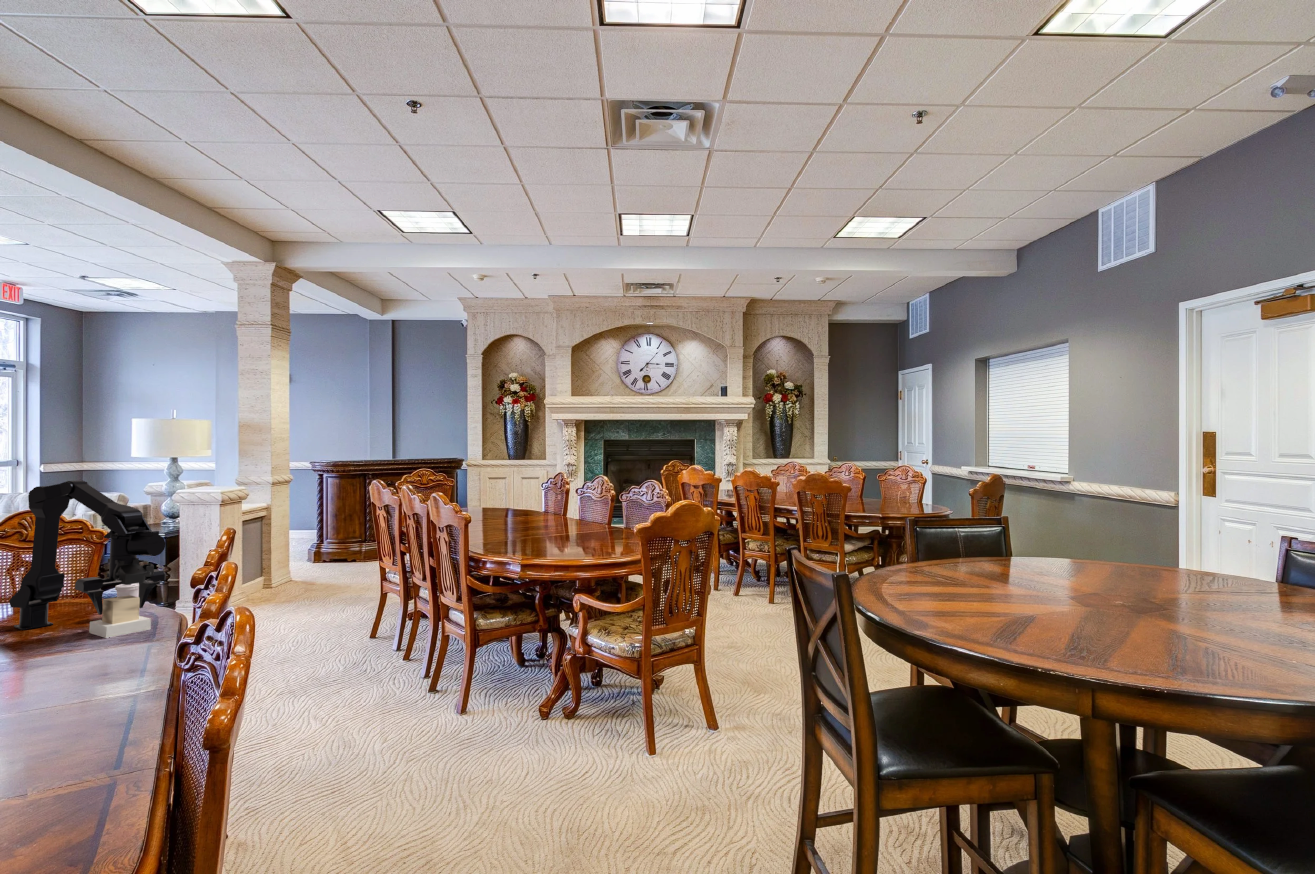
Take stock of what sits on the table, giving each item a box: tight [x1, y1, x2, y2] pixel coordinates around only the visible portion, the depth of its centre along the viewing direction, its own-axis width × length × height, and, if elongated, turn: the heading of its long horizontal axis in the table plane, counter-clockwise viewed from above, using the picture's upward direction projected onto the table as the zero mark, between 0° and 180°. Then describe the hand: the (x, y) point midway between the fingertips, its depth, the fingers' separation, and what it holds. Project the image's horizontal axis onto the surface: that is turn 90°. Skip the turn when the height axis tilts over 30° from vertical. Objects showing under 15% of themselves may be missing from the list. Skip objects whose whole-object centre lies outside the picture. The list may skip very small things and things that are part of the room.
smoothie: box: [114, 583, 139, 597], centre depth 190 cm, size 6×6×14 cm
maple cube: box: [101, 595, 140, 624], centre depth 175 cm, size 6×6×6 cm
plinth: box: [89, 615, 152, 639], centre depth 175 cm, size 10×10×3 cm
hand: (121, 611), depth 175 cm, fingers open, 9 cm apart
